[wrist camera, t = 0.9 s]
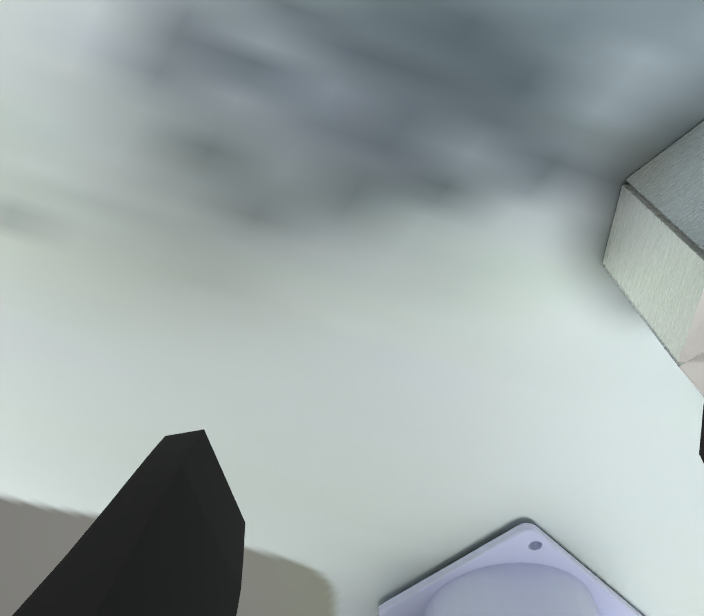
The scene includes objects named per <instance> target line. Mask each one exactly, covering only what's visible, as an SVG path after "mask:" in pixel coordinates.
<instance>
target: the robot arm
mask: <svg viewBox="0 0 704 616" xmlns="http://www.w3.org/2000/svg"><path fill="white" fill-rule="evenodd" d="M699 455H700V457H701V459H702V461H703V463H704V406H703V417H702V428H701V439H700V450H699ZM244 534H245V521H244V519H243V517H242V514H241V512H240V510H239V508H238V505H237V503H236V501H235V499H234V496H233V494H232V492H231V489H230V487H229V485H228V483H227V480H226V478H225V476H224V474H223V471H222V469H221V467H220V465H219V462H218V460H217V458H216V455H215V453H214V451H213V449H212V446H211V444H210V442H209V440H208V437H207V435H206V433H205V430H199V431H193V432H187V433H181V434H175V435H169V436H165V437H164V438H163V439H162V440H161V442H160V443H159V444H158V445H157V446H156V447H155V448H154V450H153V451H152V452H151V453H150V454H149V456H148V457H147V458H146V459H145V460H144V462H143V463H142V464H141V465H140V466H139V468H138V469H137V470H136V471H135V473H134V474H133V475H132V476H131V478H130V479H129V480H128V481H127V482H126V484H125V485H124V486H123V487H122V489H121V490H120V491H119V492H118V494H117V495H116V496H115V497H114V498H113V500H112V501H111V502H110V503H109V505H108V506H107V507H106V508H105V509H104V511H103V512H102V513H101V514H100V515H99V517H98V518H97V519H96V520H95V522H94V523H93V524H92V525H91V527H90V528H89V529H88V530H87V531H86V532H85V533H84V535H83V536H82V537H81V538H80V540H79V541H78V542H77V543H76V544H75V546H74V547H73V548H72V549H71V550H70V552H69V553H68V554H67V555H66V556H65V557H64V559H63V560H62V561H61V562H60V563H59V564H58V565H57V566H56V567H55V569H54V570H53V571H52V572H51V573H50V574H49V575H48V576H47V578H46V579H45V580H44V581H43V582H42V583H41V584H40V585H39V587H38V588H37V589H36V590H35V591H34V592H33V593H32V595H30V597H29V598H28V599H27V600H26V601H25V602H24V603H23V604H22V605H21V607H20V608H19V609H18V610H17V611H16V612H15V613H14V614H13V615H12V616H236V614H237V608H238V602H239V596H240V591H241V580H242V567H243V553H244ZM379 616H642V615H641V614H640V613H639V612H638V611H637V610H635V609H634V608H633V607H632V606H631V605H629V604H628V603H627V602H626V601H625V600H623V599H622V598H621V597H620V596H619V595H618V594H616V593H615V592H614V591H613V590H612V589H610V588H609V587H608V586H607V585H606V584H605V583H603V582H602V581H601V580H600V579H599V578H597V577H596V576H595V575H594V574H593V573H591V572H590V571H589V570H588V569H587V568H586V567H584V566H583V565H582V564H581V563H580V562H578V561H577V560H576V559H575V558H574V557H572V556H571V555H570V554H569V553H568V552H567V551H565V550H564V549H563V548H562V547H561V546H559V545H558V544H557V543H556V542H555V541H554V540H552V539H551V538H550V537H549V536H548V535H546V534H545V533H544V532H543V531H542V530H540V529H539V528H538V527H537V526H535V525H534V524H531V523H522V524H520V525H518V526H516V527H514V528H512V529H511V530H509V531H507V532H506V533H504V534H502V535H500V536H499V537H497V538H495V539H493V540H492V541H490V542H488V543H486V544H485V545H483V546H481V547H480V548H478V549H476V550H474V551H473V552H471V553H469V554H467V555H466V556H464V557H462V558H460V559H459V560H457V561H455V562H454V563H452V564H450V565H448V566H447V567H445V568H443V569H441V570H440V571H438V572H436V573H434V574H433V575H431V576H429V577H428V578H426V579H424V580H422V581H421V582H419V583H417V584H415V585H414V586H412V587H410V588H408V589H407V590H405V591H403V592H401V593H400V594H398V595H396V596H395V597H393V598H391V599H389V600H388V601H386V602H384V603H383V604H381V605H380V607H379Z"/></svg>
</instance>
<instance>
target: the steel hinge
mask: <svg viewBox="0 0 704 616" xmlns="http://www.w3.org/2000/svg"><path fill="white" fill-rule="evenodd" d="M626 181H627V182H628V183H629V185H622V188H621V192H620V196H619V200H618V204H617V207H616V211H615V215H614V219H613V223H612V227H611V231H610V235H609V239H608V243H607V247H606V251H605V255H604V258H603V264H604V265H605V266H604V268H605V269H606V271H607V272H608V273H609V275H610V276H611V277H612V279H613V280H614V281H615V283H616V284H617V285H618V287H619V288H620V289H621V291H622V292H623V293H624V295H625V296H626V297H627V299H628V300H629V301H630V303H631V304H632V305H633V307H634V308H635V309H636V311H637V312H638V313H639V315H640V316H641V317H642V319H643V320H644V321H645V323H646V324H647V325H648V327H649V328H650V329H651V331H652V332H653V333H654V335H655V336H656V337H657V339H658V340H659V341H660V343H661V344H662V345H663V347H664V348H665V349H666V351H667V352H668V353H669V355H670V356H671V357H672V359H673V360H674V361H675V363H676V364H677V365H678V367H679V368H680V369H681V370H682V371H683V373H684V374H685V375H686V376H687V377H688V378H689V380H690V381H691V382H692V383H693V384H694V386H695V387H696V388H697V389H698V390H699V391H700V393H701V394H702V395H703V396H704V121H702V122H701V123H700V124H698V125H697V126H696V127H695V128H693V129H692V130H691V131H689V132H688V133H687V134H685V135H684V136H683V137H681V138H680V139H679V140H677V141H676V142H675V143H673V144H672V145H671V146H669V147H668V148H667V149H665V150H664V151H663V152H662V153H660V154H659V155H658V156H656V157H655V158H654V159H652V160H651V161H650V162H648V163H647V164H646V165H644V166H643V167H642V168H640V169H639V170H638V171H636V172H635V173H634V174H633V175H631V176H630V177H629V178H627V179H626Z"/></svg>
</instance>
